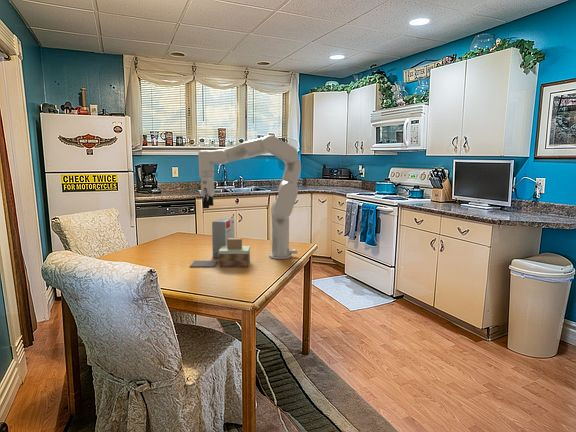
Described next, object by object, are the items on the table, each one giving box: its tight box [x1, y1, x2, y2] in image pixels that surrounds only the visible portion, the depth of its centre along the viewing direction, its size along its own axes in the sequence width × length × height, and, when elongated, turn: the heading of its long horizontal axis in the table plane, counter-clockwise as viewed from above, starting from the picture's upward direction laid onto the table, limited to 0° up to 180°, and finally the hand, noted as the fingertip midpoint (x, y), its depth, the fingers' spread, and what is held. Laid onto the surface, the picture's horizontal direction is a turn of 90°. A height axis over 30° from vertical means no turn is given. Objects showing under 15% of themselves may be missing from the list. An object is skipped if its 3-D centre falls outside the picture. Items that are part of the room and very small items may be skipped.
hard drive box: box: [211, 217, 235, 258], centre depth 206 cm, size 16×8×20 cm, turn 168°
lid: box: [219, 237, 251, 254], centre depth 187 cm, size 15×11×8 cm
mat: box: [189, 260, 218, 268], centre depth 188 cm, size 12×10×1 cm
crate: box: [219, 249, 251, 268], centre depth 188 cm, size 14×10×7 cm
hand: (208, 206), depth 194 cm, fingers open, 9 cm apart
